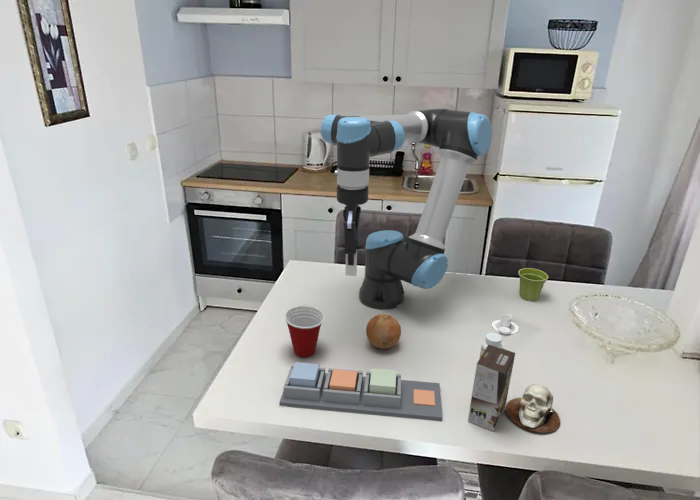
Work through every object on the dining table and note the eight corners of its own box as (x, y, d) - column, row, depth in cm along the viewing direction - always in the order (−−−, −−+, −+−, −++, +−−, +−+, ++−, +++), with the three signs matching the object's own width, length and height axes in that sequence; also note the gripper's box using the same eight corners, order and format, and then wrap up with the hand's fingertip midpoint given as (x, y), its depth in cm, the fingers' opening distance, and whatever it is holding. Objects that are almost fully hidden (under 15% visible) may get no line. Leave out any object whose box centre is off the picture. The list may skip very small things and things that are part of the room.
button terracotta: (357, 381, 120) (357, 371, 119) (354, 397, 115) (354, 387, 114) (333, 378, 121) (333, 369, 120) (329, 395, 116) (329, 385, 114)
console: (439, 386, 122) (440, 373, 120) (441, 420, 111) (443, 407, 109) (290, 373, 126) (290, 360, 124) (279, 405, 115) (278, 392, 113)
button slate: (319, 374, 121) (319, 364, 120) (314, 390, 116) (314, 379, 114) (295, 372, 122) (295, 362, 120) (290, 387, 116) (289, 377, 115)
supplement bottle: (481, 373, 127) (485, 342, 123) (476, 360, 132) (480, 331, 128) (501, 373, 127) (507, 343, 123) (496, 361, 132) (501, 331, 128)
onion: (393, 333, 143) (395, 304, 139) (404, 353, 134) (407, 322, 130) (361, 337, 141) (362, 308, 137) (371, 358, 132) (372, 327, 128)
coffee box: (494, 432, 108) (505, 374, 101) (466, 421, 111) (475, 363, 105) (506, 408, 115) (516, 352, 109) (479, 398, 118) (488, 343, 112)
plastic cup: (314, 368, 128) (314, 329, 123) (278, 358, 131) (276, 320, 127) (331, 345, 137) (331, 309, 132) (297, 337, 141) (295, 301, 136)
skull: (555, 442, 104) (529, 401, 105) (516, 447, 112) (492, 409, 112) (572, 410, 113) (548, 372, 113) (535, 417, 120) (512, 382, 121)
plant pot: (527, 287, 171) (531, 265, 167) (549, 299, 163) (554, 276, 160) (508, 294, 166) (512, 271, 162) (531, 306, 159) (535, 283, 155)
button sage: (395, 380, 119) (396, 370, 118) (394, 397, 114) (395, 387, 112) (371, 378, 120) (371, 368, 118) (369, 394, 114) (369, 384, 113)
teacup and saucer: (507, 339, 142) (509, 327, 140) (484, 327, 147) (486, 316, 146) (523, 328, 147) (526, 317, 146) (501, 318, 153) (502, 306, 151)
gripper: (340, 177, 121) (339, 262, 130) (332, 192, 109) (332, 285, 119) (370, 178, 120) (367, 264, 130) (366, 194, 108) (363, 287, 118)
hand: (351, 274), depth 124 cm, fingers closed
